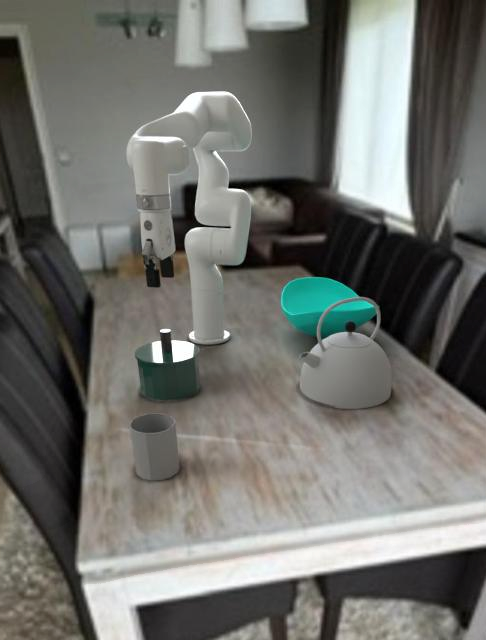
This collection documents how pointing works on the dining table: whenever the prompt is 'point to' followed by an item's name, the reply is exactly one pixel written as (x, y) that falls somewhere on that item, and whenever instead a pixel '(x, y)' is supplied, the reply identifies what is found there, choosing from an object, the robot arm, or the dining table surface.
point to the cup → (155, 446)
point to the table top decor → (322, 306)
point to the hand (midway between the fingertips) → (161, 282)
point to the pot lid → (166, 351)
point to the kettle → (347, 367)
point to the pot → (169, 380)
